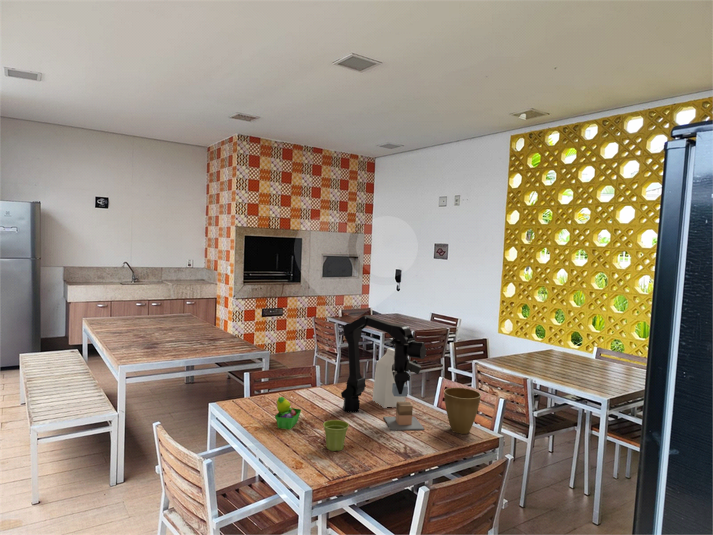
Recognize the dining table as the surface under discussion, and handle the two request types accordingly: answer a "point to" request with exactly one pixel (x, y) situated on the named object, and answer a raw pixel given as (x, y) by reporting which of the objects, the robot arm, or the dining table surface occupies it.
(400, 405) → the walnut block
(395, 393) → the slate block
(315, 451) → the dining table surface
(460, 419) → the plant pot
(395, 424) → the tower base
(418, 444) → the dining table surface
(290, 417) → the fruit basket
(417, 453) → the dining table surface
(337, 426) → the plant pot
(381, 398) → the milk
